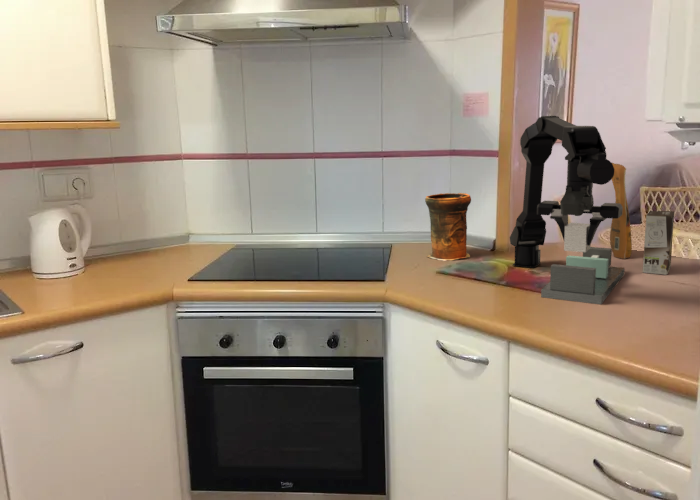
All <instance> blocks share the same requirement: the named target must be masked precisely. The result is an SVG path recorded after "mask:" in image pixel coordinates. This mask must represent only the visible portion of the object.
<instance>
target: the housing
mask: <svg viewBox="0 0 700 500" xmlns="http://www.w3.org/2000/svg"><path fill="white" fill-rule="evenodd" d="M589 228H590V223H583V222H582V223H579V222H568V224H567V225H566V226H565V236H564V239H563V246H564V247H563V251H565V252H574V253H575V252H577V253H583V252H587V251H588V250H589V249H590V247H592V246H591V244H592V243H591V244H590V245H588V234H589Z"/></svg>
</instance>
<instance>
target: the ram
mask: <svg viewBox="0 0 700 500" xmlns="http://www.w3.org/2000/svg"><path fill="white" fill-rule="evenodd" d="M612 255H613V252H612V248H611V247H597V246H595V247H594V246H590V249H589V250H588V251H587V252H582V256H581V255H580V256H578V255H577V256H576V255H567V256H566V257H565V265H568V266H578V267H589V268H596V278H607V277H608V266H612Z"/></svg>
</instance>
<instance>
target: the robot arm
mask: <svg viewBox="0 0 700 500" xmlns="http://www.w3.org/2000/svg"><path fill="white" fill-rule="evenodd" d="M601 136H602V135H601V133H600V131H599V129H598V128H597V127H596V126H594V125H576V124H573V123H571V122H569V121H567V120H564V119H562V118H561V117H559V116H557V115H542V116H539V117H538V118H537V119H536V121H535V122H534V123H532V124H531V125H529V126H528V127H527V128H525V130H524V131H523V133H522V135H521V136H520V140H519V141H520V142H519V144H520V149H521V151H520V152H521V154H522V156H523V157H524V160H525V162H526V167H525V175H524V176H525V180H524V188H523V189H524V191H523V204H522V211H521V212H520V213H519V215H518V216H517V218H516V220H515V225H514V228H513V230H512V231H511V233H510V236H509V242H510V245H512V246H513V247H514V263H512V266H513V265H515V266H514V267H519V266H521V267H522V268H529V267H530V269H532V268H533V269H534V268H536V267H538V266H539V265H540V264H541V249H540V247H539V246H544V244H545V240H546V234H547V228H546V227H547V226H546V225H547V223H546V222H547V221H546V220H545V219H544V218H543V216H549V218H550V219H551V220H554V221H555V222H556V224H557V225H558V227H559V231H560V233H561V236H562V239H563V240H564V236H565V226H566V225H567V224H569V216H575V217H580V216H582V215H583V214H591V215H592V217H589V224H590V228H589V234H588V245H590V244H592V242H593V240H594V237H595V235H596V232H597V230H598V228H599V226H600V225H601V223H602V222H605V220H607V219H612V218H613V219H616V218H619V217H620V216H621V215H622V211H623V207H622V205H621V204H620V203H614V202H604V203H603V204H601V205H600V206H599V205H594V196H593V188H594V184H596V185H600V186H602V185H605V184H608V183H610V182H611V181H612V178H613V175H614V167H613V164H612V163H613V162H611V160H608V159H607V152H606V149H607V148H606V146H605V143H604V142H603V139H602V137H601ZM558 140H560V141H561V146H562V148H563V149H564V150H565V151H566V152H567V154H566V155H565V156H564V160H565V161H567V171H566V185H565V193H564V195H563V196H562V198H561V200H560V202H559V201H558V200H543V201H542V195H543V181H544V173H545V171H544V170H545V163H547V160H548V159H549V158H550V156H551V155H552V151H553V147H554V145H555V143H556V142H557V141H558ZM521 267H520V268H521Z"/></svg>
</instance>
